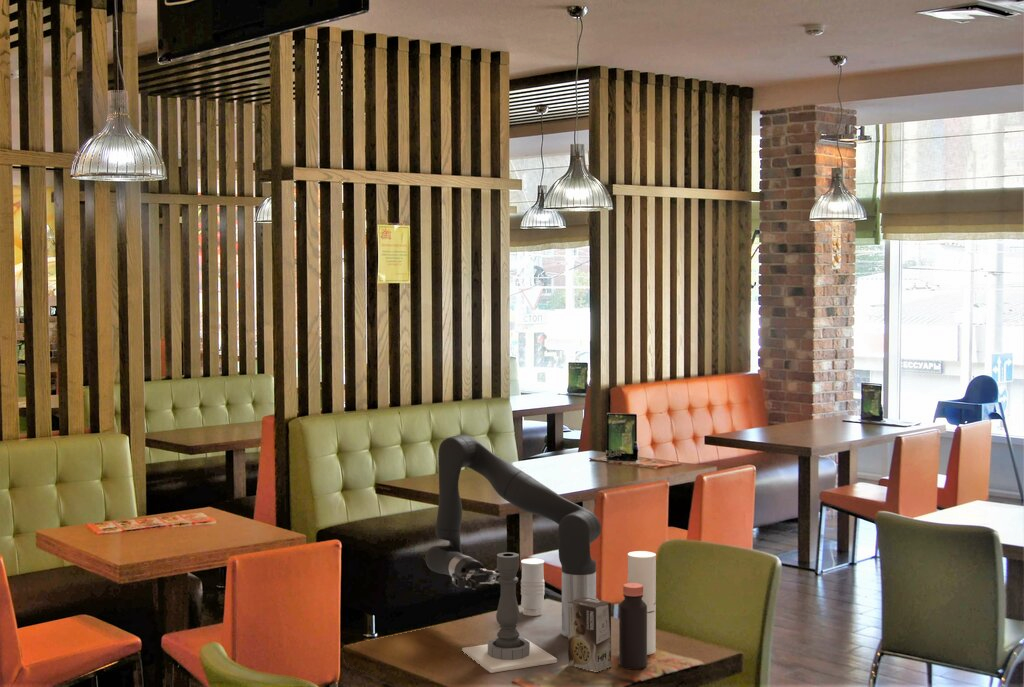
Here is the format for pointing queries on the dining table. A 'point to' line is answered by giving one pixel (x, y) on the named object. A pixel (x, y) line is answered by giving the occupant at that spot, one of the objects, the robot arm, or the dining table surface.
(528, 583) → the candle
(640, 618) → the bottle
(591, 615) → the coffee box
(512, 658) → the collar plate
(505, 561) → the candle holder
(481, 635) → the dining table surface
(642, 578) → the cylindrical container
